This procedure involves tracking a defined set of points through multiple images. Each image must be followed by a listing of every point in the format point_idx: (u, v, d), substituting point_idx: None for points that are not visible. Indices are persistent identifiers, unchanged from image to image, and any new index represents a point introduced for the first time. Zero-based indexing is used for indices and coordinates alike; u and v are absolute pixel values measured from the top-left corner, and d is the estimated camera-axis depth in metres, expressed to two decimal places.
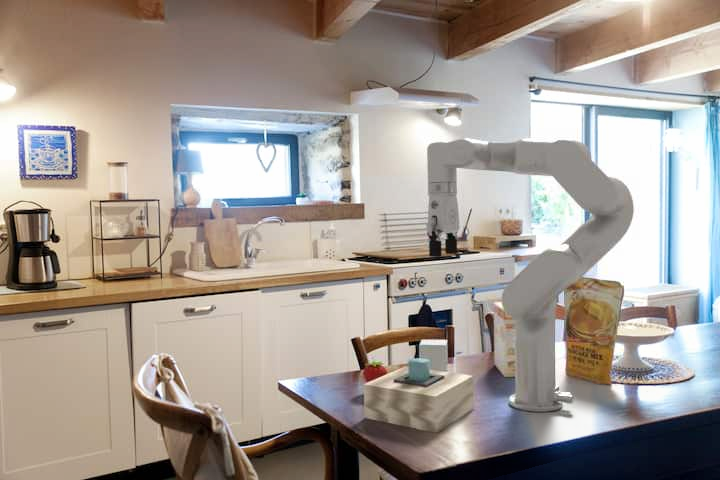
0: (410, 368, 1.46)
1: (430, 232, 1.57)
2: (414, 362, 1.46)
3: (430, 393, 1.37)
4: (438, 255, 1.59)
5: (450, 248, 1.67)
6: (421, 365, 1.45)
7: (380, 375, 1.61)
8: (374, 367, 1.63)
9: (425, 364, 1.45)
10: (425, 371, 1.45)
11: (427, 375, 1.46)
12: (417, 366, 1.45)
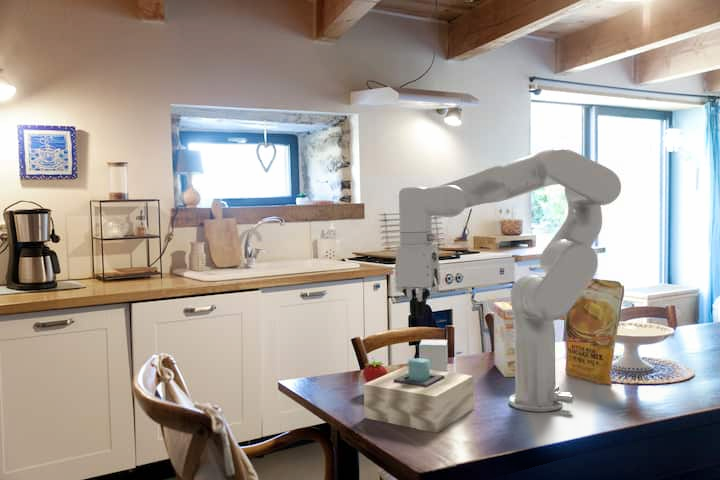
0: (410, 368, 1.46)
1: None
2: (414, 362, 1.46)
3: (430, 393, 1.37)
4: (423, 315, 1.47)
5: None
6: (421, 365, 1.45)
7: (380, 375, 1.61)
8: (374, 367, 1.63)
9: (425, 364, 1.45)
10: (425, 371, 1.45)
11: (427, 375, 1.46)
12: (417, 366, 1.45)
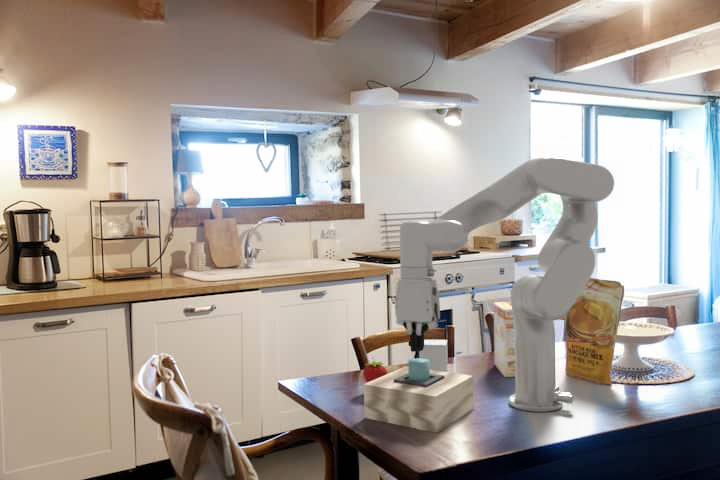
0: (410, 368, 1.46)
1: None
2: (414, 362, 1.46)
3: (430, 393, 1.37)
4: (422, 349, 1.48)
5: None
6: (421, 365, 1.45)
7: (380, 375, 1.61)
8: (374, 367, 1.63)
9: (425, 364, 1.45)
10: (425, 371, 1.45)
11: (427, 375, 1.46)
12: (417, 366, 1.45)
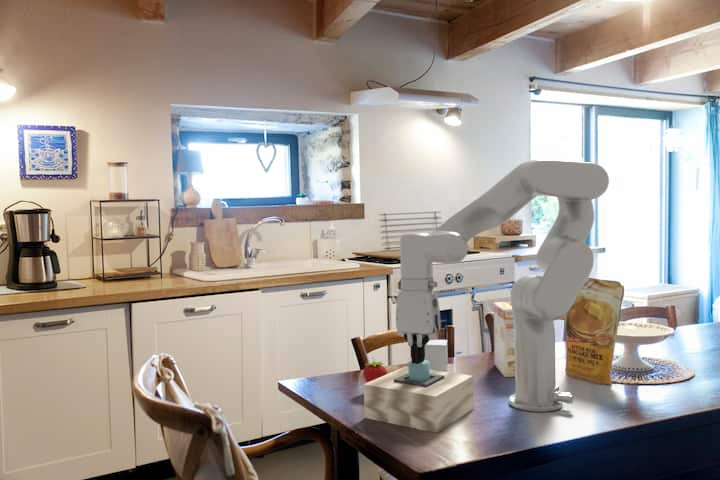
0: (410, 369, 1.46)
1: None
2: (414, 363, 1.46)
3: (430, 393, 1.37)
4: (422, 360, 1.48)
5: None
6: (421, 366, 1.45)
7: (380, 375, 1.61)
8: (374, 367, 1.63)
9: (425, 365, 1.45)
10: (425, 373, 1.45)
11: (427, 376, 1.46)
12: (417, 367, 1.45)
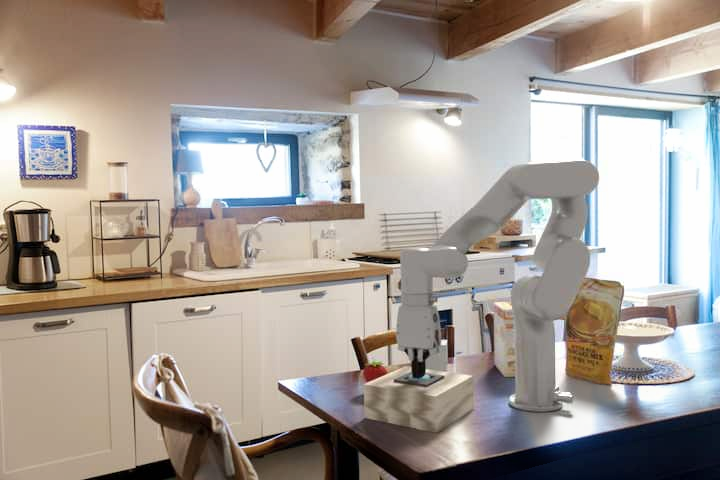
0: None
1: None
2: (414, 378, 1.46)
3: (430, 393, 1.37)
4: (423, 375, 1.48)
5: None
6: (421, 381, 1.45)
7: (380, 375, 1.61)
8: (374, 367, 1.63)
9: (425, 380, 1.45)
10: None
11: None
12: None
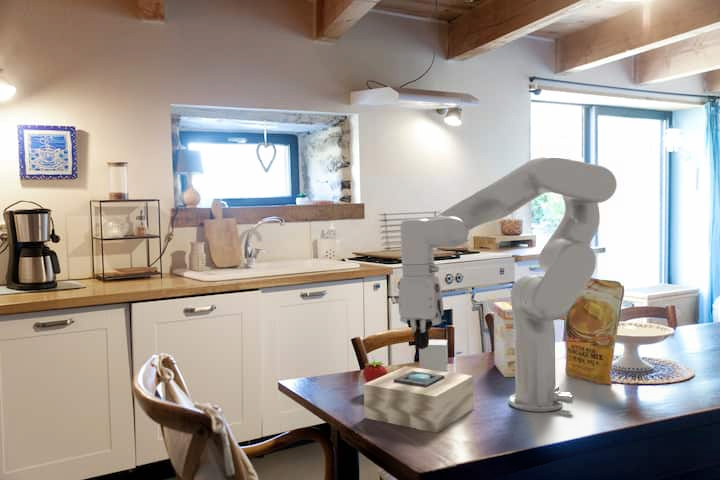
0: None
1: None
2: (414, 378, 1.46)
3: (430, 393, 1.37)
4: (426, 345, 1.48)
5: None
6: (421, 381, 1.45)
7: (380, 375, 1.61)
8: (374, 367, 1.63)
9: (425, 380, 1.45)
10: None
11: None
12: None
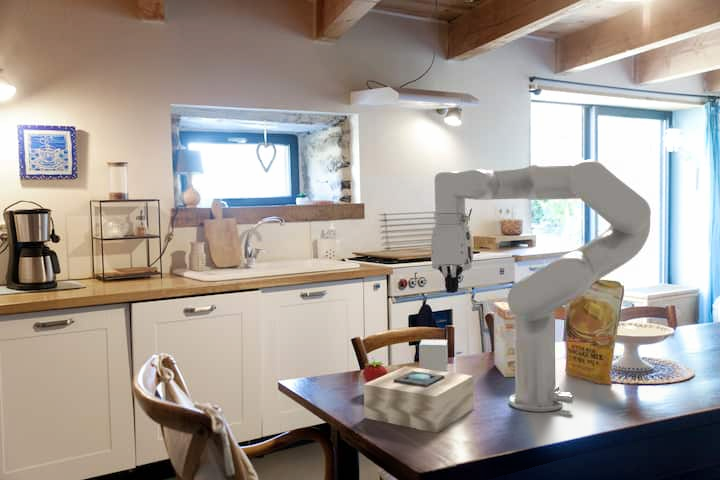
0: None
1: None
2: (414, 378, 1.46)
3: (430, 393, 1.37)
4: (456, 290, 1.59)
5: None
6: (421, 381, 1.45)
7: (380, 375, 1.61)
8: (374, 367, 1.63)
9: (425, 380, 1.45)
10: None
11: None
12: None
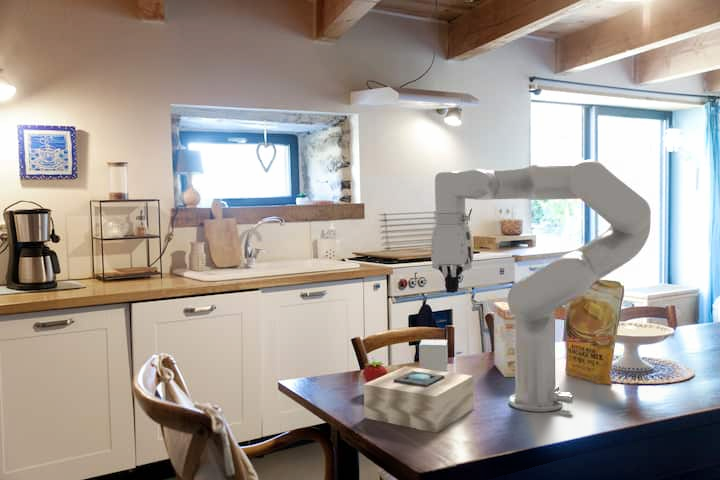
0: None
1: None
2: (414, 378, 1.46)
3: (430, 393, 1.37)
4: (456, 290, 1.59)
5: None
6: (421, 381, 1.45)
7: (380, 375, 1.61)
8: (374, 367, 1.63)
9: (425, 380, 1.45)
10: None
11: None
12: None
